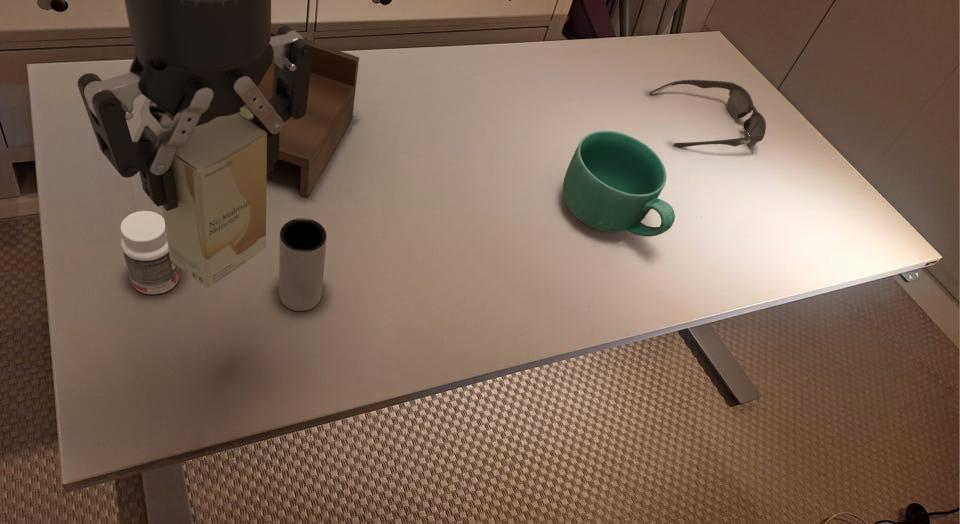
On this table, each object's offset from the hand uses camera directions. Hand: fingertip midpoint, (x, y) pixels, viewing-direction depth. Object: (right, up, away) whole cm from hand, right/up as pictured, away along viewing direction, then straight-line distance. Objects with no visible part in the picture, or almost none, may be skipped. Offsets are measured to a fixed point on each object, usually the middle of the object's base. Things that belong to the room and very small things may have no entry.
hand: (216, 182), depth 47 cm
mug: (+37, 0, +46) cm, 59 cm away
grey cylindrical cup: (-1, -9, +26) cm, 28 cm away
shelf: (-10, +12, +41) cm, 44 cm away
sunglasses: (+58, +18, +68) cm, 91 cm away
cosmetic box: (-2, -5, +6) cm, 8 cm away
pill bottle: (-16, -7, +23) cm, 29 cm away
